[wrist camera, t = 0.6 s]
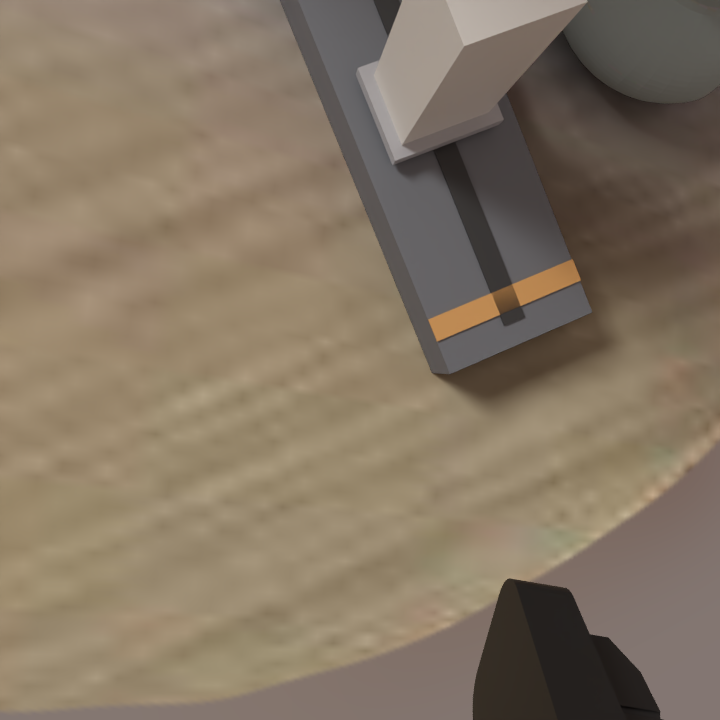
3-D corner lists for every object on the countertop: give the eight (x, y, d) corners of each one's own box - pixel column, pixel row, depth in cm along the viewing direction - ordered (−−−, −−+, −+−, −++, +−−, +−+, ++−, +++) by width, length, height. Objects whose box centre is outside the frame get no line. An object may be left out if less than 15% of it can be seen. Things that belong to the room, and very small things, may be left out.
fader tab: (355, 74, 27) (400, -69, 18) (463, 35, 28) (558, -120, 19) (392, 165, 27) (454, 68, 18) (498, 124, 28) (609, 12, 19)
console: (266, -33, 30) (267, -78, 27) (405, -78, 31) (421, -127, 28) (432, 372, 31) (450, 374, 28) (561, 316, 32) (593, 312, 29)
